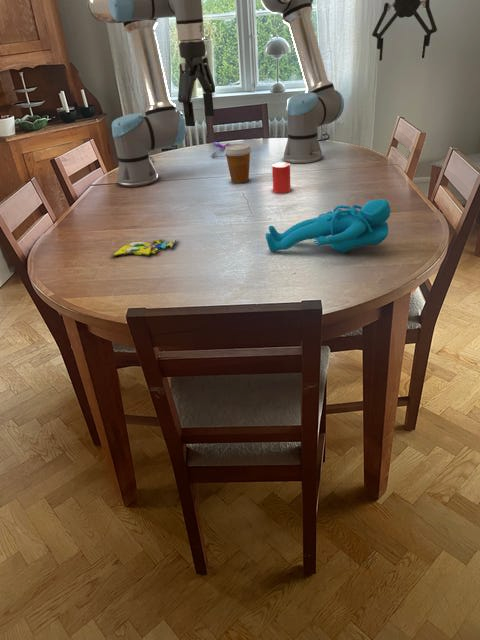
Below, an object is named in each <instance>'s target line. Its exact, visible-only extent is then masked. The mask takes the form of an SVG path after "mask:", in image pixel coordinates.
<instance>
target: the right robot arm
mask: <svg viewBox="0 0 480 640" xmlns="http://www.w3.org/2000/svg"><path fill="white" fill-rule="evenodd" d="M260 2H261V5H262V6H263V7H264V9H265V10H266V11H268V12H269V13H272V14H280V15H281V18H282V21H283V23H284V24H286V25H287V26H288V27H289V31H290V34H291V38H292V41H293V45H294V48H295V52H296V55H297V58H298V62H299V66H300V69H301V70H300V71H301V72H302V76H303V80H304V84H305V86H306V87H305V88H306V91H305V92H302V93H297V94H294V95H292V96H290V97H289V98H288V99H287V101H286V126H287V129H286V131H287V141H286V145H285V148H284V150H283V161H284V162H285V163H289V164H310V163H315V162H318V161H320V160H321V159H322V158H323V153H322V149H321V145H320V142H325V141H329V140H330V135H329V134H328V132H323V133H322V136H323V137H325V136H326V138H319V139H318V127H322V126H324V125H329V124H332V123H333V122H335V121H337V120H338V119H339V118H341V116H342V114H343V112H344V110H345V109H344V107H345V101H344V97H343V94H342V93H341V92H340V91H338V90H336V89H335V86H334V83H333V82H332V81H330V80H329V78H328V76H327V71H326V68H325V64H324V61H323V56H322V54H321V50H320V46H319V42H318V39H317V36H316V32H315V31H316V30H315V28H314V24H313V21H312V17H311V13H312V12H313V2H314V0H260ZM430 2H431V1H430V0H394V2H392V3H391V2H385V3H384V5H383V11H382V13H381V15H380V17H379V19H378V21H377V24H376V25H375V27H374V30H373V31H372V34H371V36H372V37H373V38H376V49H377V50H379V61H381V62H382V61H383V51H384V37H382V36H383V35H384V34H385V33H386V31H387V30H388V29H389V28H390V27H391V26H392V24H393V23H394V22H395V20H396V19H397V17H398V18H400V19H403V18H411V17H413V16H414V18H415V19H416V21H417V22H418V24H419V25H420V26H421V28H422V29H423V30H424V32H425V34H424V35H423V42H422V49H421V59H425V55H426V47H430V42H431V36H432V35H433V34H434V33H436V32H438V28H437V25H436V22H435V19H434V16H433V13H432V10H431V8H430ZM420 6H422V8H424V10H425V12H426V15H427V18H428V20H429V24H430V26H431V29H430V27H428V25H427V23H426V22H425V21H424V20H423V18H422V17H421V16H420V13H418V11H417V10H419V8H420ZM391 9H393V10H394V12H395V13H393V15H392V16H391V18H390V19H389V20H388V21H387V22H386V23H385V26H384V27H382V29H381V30H380V32H378V31H379V29H380V28H381V26H382V24H383V22H384V20H385V17H386V15H387V13H388V12H389V11H390V10H391Z"/></svg>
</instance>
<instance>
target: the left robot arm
mask: <svg viewBox="0 0 480 640" xmlns="http://www.w3.org/2000/svg"><path fill="white" fill-rule="evenodd" d="M86 7H87V10H88V12H89V14H90V15H91V16H92V18H94V19H95V20H96V21H99V22H102V23H104V24H123V28H124V31H126V32H127V33H128V34H129V35H130V38H131V42H132V46H133V50H134V55H135V59H136V63H137V67H138V71H139V75H140V79H141V84H142V88H143V92H144V97H145V100H146V105H147V107H146V108H145V110H144V114H145V116H143V114H142V113H140V112H137V113H136V112H135V113H129V114H126V115H123V116H122V115H121V116H120V117H117V118H115V119H114V120H113V121H112V122H111V132H112V138H113V141H114V146H115V151H116V156H117V160H118V167H117V168H118V170H117V183H118V186H120V187H123V188H124V187H125V188H136V187H137V188H138V187H145V186H147V185H148V186H149V185H151V184H154V183H156V182H157V181H158V180H159V176H158V172H157V169H156V168H155V166H154V163H153V158H152V157H151V156H150V151H155V150H158V149H163V148H170V147H171V148H172V147H174V146H178V145H181V144H182V143H183V142H184V140H185V137H186V127H195V126H196V122H195V121H196V120H195V113H194V106H193V105H194V103H193V101H192V96H193V91H194V86H195V82H196V81H197V80H198V82H199V84H200V87H201V88H202V90H203V92H204V93H203V94H202V96H203V107H204V117H214V116H215V109H214V100H213V94H215V93H216V85H215V81H214V78H213V75H212V72H211V68H210V65H209V59H208V57H206V56H207V46H206V45H207V44H206V41H205V40H204V39H205V38H206V37H205V36H206V35H205V30H206V27H205V26H204V25H205V24H204V15H203V3H202V0H86ZM162 18H163V19H165V18H175V24H176V33H177V40H178V42H179V43H178V49H179V56H180V58H181V59H184V62H181V63H179V64H178V65H179V81H178V92H177V101H178V103H180V104H182V107H183V113H182V111H181V110H177V106H176V104H175V103H173V102H172V101H171V97H170V93H169V89H168V85H167V80H166V76H165V72H164V67H163V63H162V62H163V61H162V57H161V53H160V49H159V44H158V40H157V36H156V32H155V29H156V27H157V25H158V20H159V19H162Z"/></svg>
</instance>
